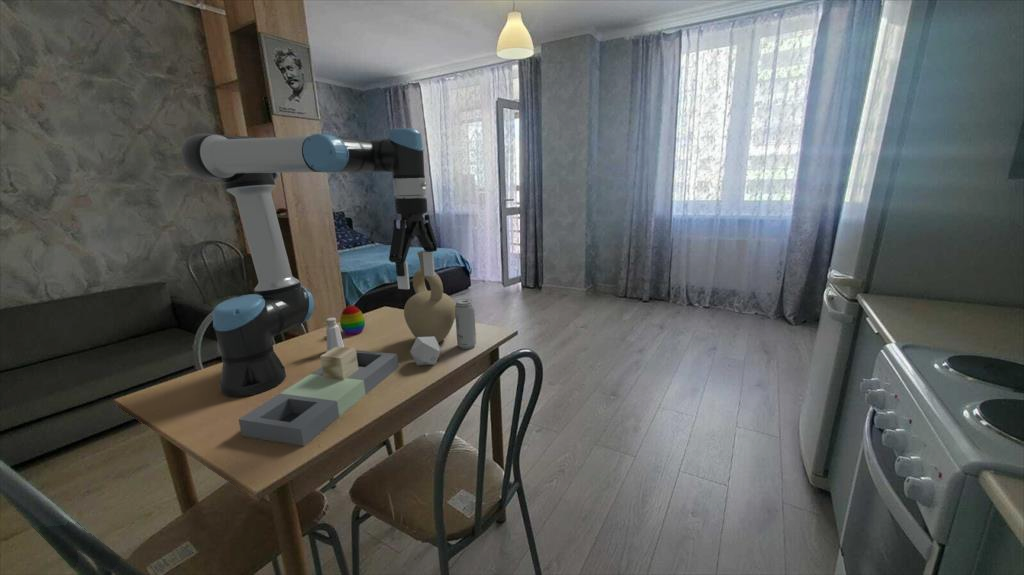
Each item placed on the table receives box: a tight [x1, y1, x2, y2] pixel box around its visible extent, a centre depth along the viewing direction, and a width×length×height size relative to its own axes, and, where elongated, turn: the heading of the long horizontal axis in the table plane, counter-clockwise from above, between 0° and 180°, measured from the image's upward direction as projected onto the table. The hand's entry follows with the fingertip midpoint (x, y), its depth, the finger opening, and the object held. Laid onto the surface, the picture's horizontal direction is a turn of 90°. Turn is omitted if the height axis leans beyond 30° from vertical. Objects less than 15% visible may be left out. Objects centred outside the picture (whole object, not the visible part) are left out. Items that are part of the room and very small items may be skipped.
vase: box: [403, 250, 456, 344], centre depth 132 cm, size 17×17×30 cm
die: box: [409, 336, 442, 366], centre depth 118 cm, size 8×9×10 cm
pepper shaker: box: [325, 317, 345, 352], centre depth 128 cm, size 5×5×11 cm
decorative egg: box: [339, 304, 366, 336], centre depth 145 cm, size 8×8×10 cm
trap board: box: [238, 349, 400, 447], centre depth 102 cm, size 16×37×4 cm, turn 165°
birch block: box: [319, 346, 359, 380], centre depth 105 cm, size 6×6×6 cm
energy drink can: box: [455, 298, 477, 350], centre depth 128 cm, size 6×6×15 cm
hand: (417, 281), depth 104 cm, fingers open, 13 cm apart
